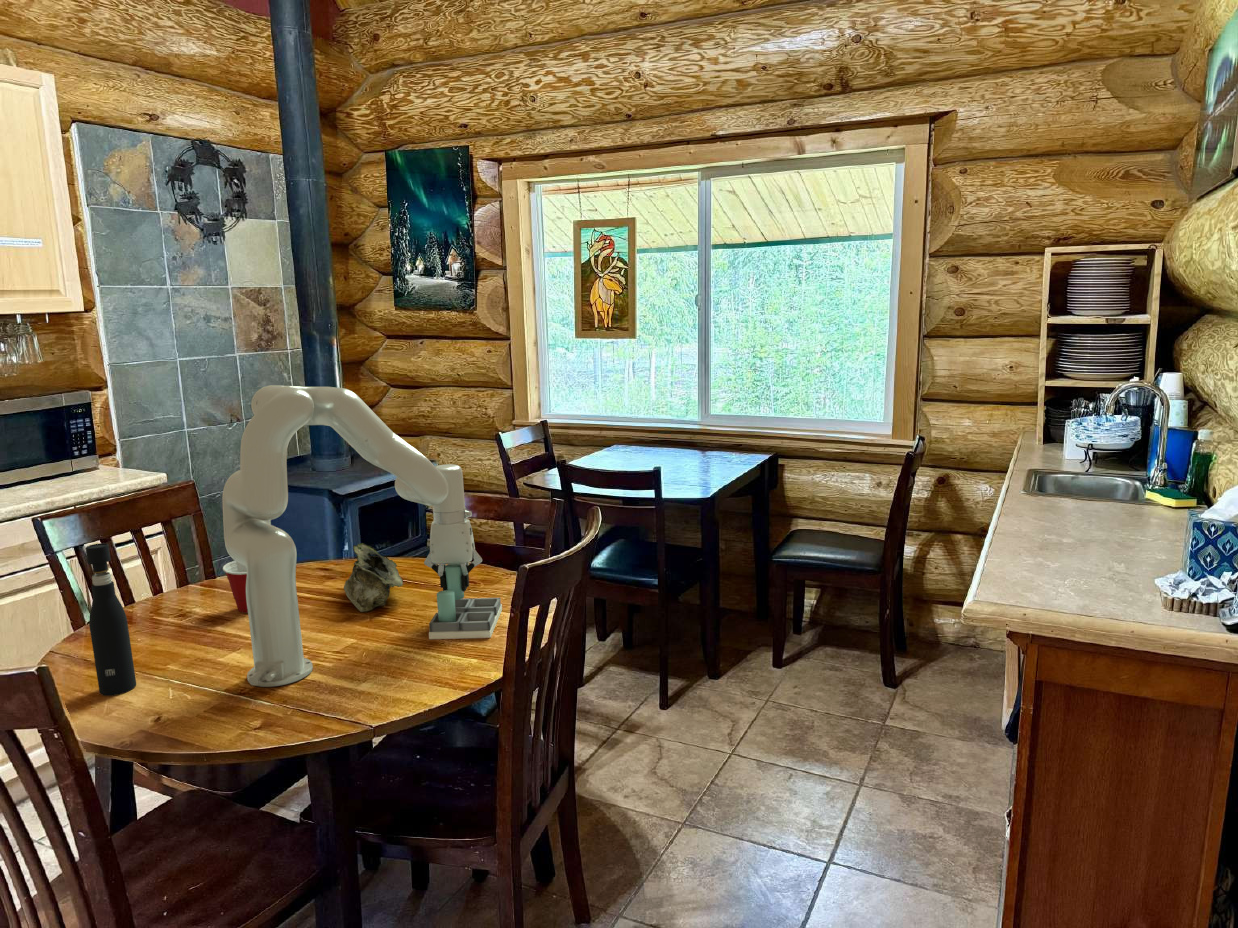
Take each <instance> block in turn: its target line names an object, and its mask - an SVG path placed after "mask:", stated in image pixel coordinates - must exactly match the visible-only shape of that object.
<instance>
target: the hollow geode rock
mask: <svg viewBox="0 0 1238 928" xmlns="http://www.w3.org/2000/svg"><path fill="white" fill-rule="evenodd" d="M352 548H353V553H354V554H355V555H356V557H357V558H356V559H357V560H356V561H354V563H353V567H352V569H351V570H352V571H351V574H350V576H349V578H348V579H346V580H345V583H344V584H343V585H344V586H343V590H344V592H345V594H346V596H347V597H346V598H348V599H349V601H350V602H351V603H352V604H353V605H354V607H355V608H356V609H357V610H358V611H359V612H361V613H364V612H369V611H373V610H374V609H375V608H377V607H384V606H386V604H387V601H388V598H389V597H390V594H391V591H390V588H394V587H397V588H400V587H403V585H404V583H403V581H404V579H403V578H402V577H401V575H400V573H399V570H398V569H397V566H398V565H397V563H396V562H395V561H394V560H393V559H389V557H385V556H382V555H381V554H380V553H379V552H378V551H377V550H376V548H374V547H372V546H371V545H368V544H366V543H364V542H362V543H357V545H356V544H354V545H353V546H352Z"/></svg>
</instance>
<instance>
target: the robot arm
mask: <svg viewBox="0 0 1238 928" xmlns="http://www.w3.org/2000/svg"><path fill="white" fill-rule="evenodd" d="M250 406H251V410H252V414H253V416H252V417H251V418H250V420H249V421H248V423H247V424H246V426H245V429H244V431H243V434H242V436H241V441H240V462H239V463H240V465H239V468H240V469H238V470H237V471H235V472H234V473H232V474H231V475H230V476H229V477H228V478H227V480H226V482H225V484H224V486H223V491H222V497H221V498H222V520H223V522H222V523H223V524H222V525H223V539H224V544H225V549H226V552H227V554H228V555H229V556H230V558H232V559H233V561H236V562H238V563H240V564H242V565H244V566H245V567H246V569H247V579H246V601H247V608H248V613H247V614H248V623H249V624H248V625H249V632H250V640H251V642H250V643H251V649H252V650H251V651H252V659H253V667H251V669H250V670H249V671H247V674H246V676H247V677H246V678H247V682H248V683H249V684H250V686H256V687H261V688H262V687H263V688H265V687H266V688H269V687H270V688H273V687H279V686H285V685H289V684H292V683H295V682H298V681H300V680H302V679H304V678H306V677H307V676H309V675H310V674H311V673H312V671H313V669H314V668H313V662H312V661H311V660H310V659H308V658H306V657H304V649H303V637H302V630H301V629H302V628H301V621H300V620H301V619H300V611H299V610H300V609H299V602H298V600H299V599H298V591H297V579H296V577H297V576H296V571H297V570H296V569H297V556H298V555H297V547H296V544H295V542H294V539H293V538H292V537H291V536H290V535H289V533H287V532H286V531H285V530H283V529H282V528H279V527H276V526H275V525H273V524H272V522H271V521H272V520H275V519H277V518H279V517H281V516H282V515H283V513H285V511H286V510H287V506H288V503H289V487H288V486H289V485H288V470H287V469H288V468H287V467H288V465H287V462H288V461H287V460H288V459H287V458H288V446H289V443H290V441H291V440H292V438H293V437H294V435H295V434H296V433H297V431H299V430H300V429H301V428H303V427H304V426H325V427H326V426H328V427H330V428H332V429H333V430H334V431H335V432H336V433H337V434H339V436H340V437H341V438H342V439H343V440H344V441H345V442H346V443H347V444H349V445H350V446H351V448H353V450H354V451H355V452H357V453H358V454H359V455H360V457H362V458H363V459H364V460H366V461H367V462H369V463H370V464H371V465H373V466H375V467H378V468H379V469H382V470H384V471H387V473H390V474H391V475H393V476H394V477H396V478H395V481H394V488H395V492H396V493H397V495H398V496H400V497H401V498H402V499H404V500H407V501H408V502H409V501H410V502H414V503H417V504H421V505H425V506H429V507H430V506H431V507H432V515H433V521H432V522H431V525H430V534H429V553H428V555H427V557H426V558H425V560H424V562H423V564H424V566H426V567H428V568H431V569H432V570H433V571H434V572H435V573H436V574H437V575H438V577H439V582H440V583H439V585H440V588H442V591H444V590H447V585H446V572H445V566H446V565H448V564H460V565H461V568H462V575H461V584H462V591H464V592H466V591H467V589H468V587H470V578H469V576H470V572H471V571H472V570H473V569H474V568H475V567H477V566H478V565H480V564H481V563H482V562H483V558H482V556H481V555H480V554H479V553H478V552H477V550H476V547H475V541H474V540H475V539H474V533H473V528H472V525H471V521H470V519H468V518H469V517H472V515H473V513H472V510H468V509H467V507H466V500H465V490H464V489H465V488H464V476H463V475H464V474H463V470H462V467H461V466H460V465H458V464H454V463H451V464H450V463H448V464H445V463H444V464H439V465H436V466H435V465H434V464H433V463H432V462H431V461H430V459H429V458H427V457H426V456H425V455H424V454H422V453H421V452H420V451H418V449H417V448H415V447H414V446H412V445H411V444H409V443H408V442H407V441H406V440H404V439H403V438H402V437H400V436H399V435H398V434H396V433H395V432H393V430H392V429H391V428H390V427H388V425H387V424H386V423H385V422H384V421H382V419H381V418H380V417H379V416H378V414H376V413H375V412H374V411H373V410H372V409H371V408H370V407H369V405H367V404H366V403H365V401H364V400H363V399H362V398H360V396H359V395H358V394H356V393H355V392H353V390H350V389H348V388H345V387H333V386H299V385H298V386H294V385H280V384H279V385H278V384H271V385H266V386H263V387H261V388H260V389H258V390H257V391H256V392H255V393H254V395H253V397H252V399H251V402H250ZM472 560H473V561H472Z"/></svg>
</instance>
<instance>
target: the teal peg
mask: <svg viewBox="0 0 1238 928" xmlns="http://www.w3.org/2000/svg"><path fill="white" fill-rule="evenodd" d="M445 572H446V585H447V590H451V591H454V595H455V600H460V599H465V591H462V584H461V575H462V568H461V565H460V564H446V566H445Z"/></svg>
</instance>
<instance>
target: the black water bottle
mask: <svg viewBox="0 0 1238 928" xmlns="http://www.w3.org/2000/svg"><path fill="white" fill-rule="evenodd" d="M85 555H86V560H87V561H86V562H87V564H88V565H91V567H92V573H93V574H92V575H91V576H92V577H91V580H92V581H91V582H92V585H91V592H92V598H93V599H92V602H91V606H90V610H89V620H88V621H89V622H88V623H89V624H88V626H89V633H90V639H91V645H92V653H93V659H94V665H95V671H96V678H97V686H98V690H99V691H98V692H99V694H100V695H102V696H106V697H109V696H117V695H122V694H124V693H128V692H130V691H132V690H133V689H135V687H136V686H137V680H136V673H135V666H134V659H133V650H132V644H131V639H130V630H129V624H128V617H127V615H126V612H125V610H124V607H123V605H122V604H121V602H120V600H119V598H118V596H117V595H116V588H115V584H114V581H113V580H112V579H113V578H112V574H111V572H110V571H109V568H108V562H110V561H111V553H110V545H109V543H106V542H105V543H104V542H102V543H94V544H90V545H87V546H85Z"/></svg>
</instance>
